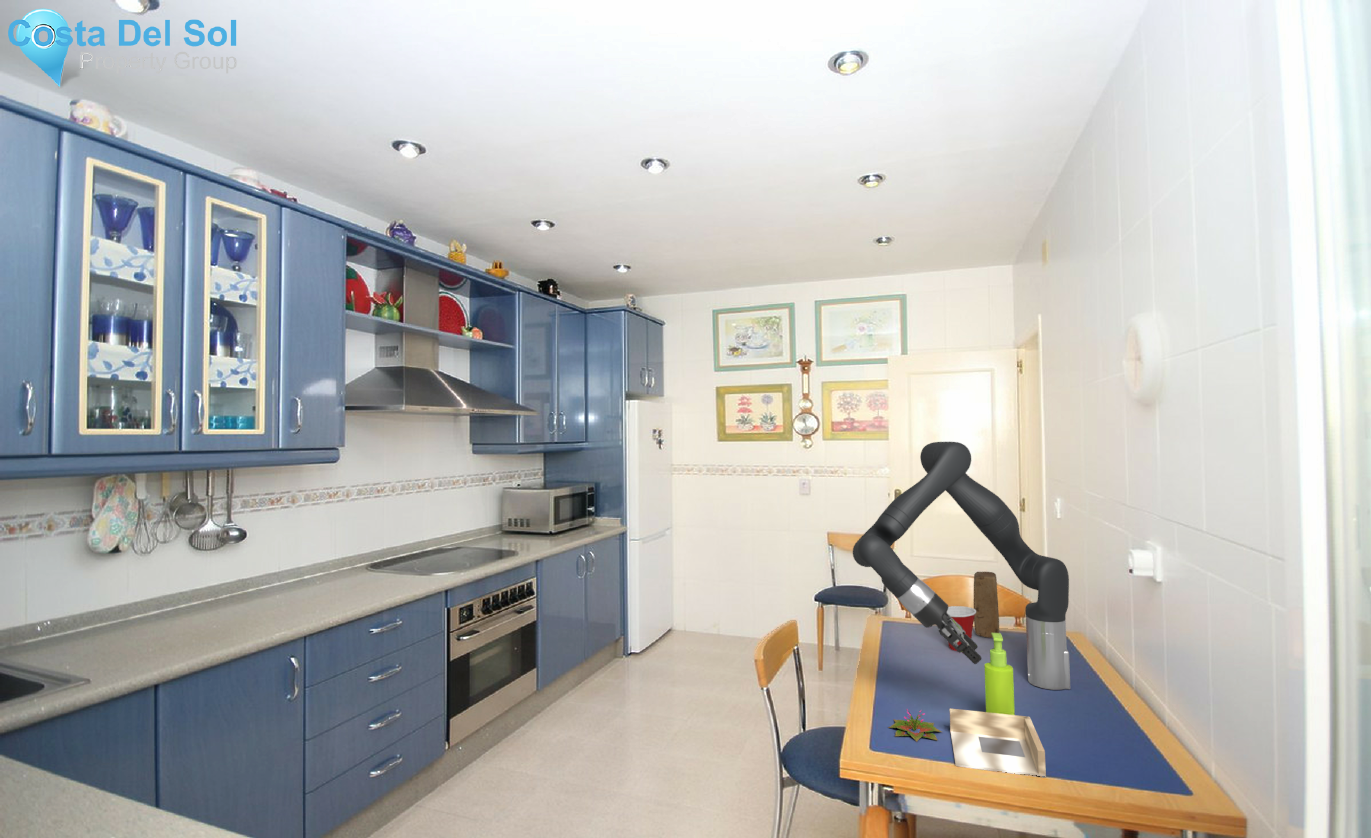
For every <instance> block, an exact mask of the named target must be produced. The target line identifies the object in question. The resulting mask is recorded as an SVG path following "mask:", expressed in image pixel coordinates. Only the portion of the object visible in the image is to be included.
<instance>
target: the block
mask: <svg viewBox="0 0 1371 838" xmlns="http://www.w3.org/2000/svg"><path fill="white" fill-rule="evenodd" d="M973 609H975V610H976V613H975V616H974V622H973V627H974V632H975V633H974V634H975V635H977V636H978V637H982V638H983V637H984V638H990V639H993V637H992V635H991V633H1000V616H999V613H1000V612H999V597H998V582H997V574H996V573H995V572H993V571H976V572H974V574H973Z"/></svg>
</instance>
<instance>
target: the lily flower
mask: <svg viewBox="0 0 1371 838" xmlns="http://www.w3.org/2000/svg"><path fill="white" fill-rule="evenodd" d="M906 710H907V711H906V713H907V714H908V715H907V717H906V716H903V718H904V719H905V720H904V719H893V721H894V723H893V724H891V726H888V727H887V729H888V728H891V729H893V728H894V729H896V728H897V729H898V730H896V731H895V735H894V737H911V738H913V739H914V741H915V742H916V743H918V741H919V740H920V739H921V738H924V739H925V738H927V739H931V740H933V741H934V740H935V741H938V738H937V736H936V734H935V733H934V732H939V733H943V731H941V730H940V729H938V728H937V727H936V726H935V725H934V724H935V722H928V721H925V720H924V719H921V717H922V716H924V715H926V713H921V711H922V710H919V712H918V714H917V715H916V718H914V717H913V716H912V714H911V713H910V711H909V710H908V709H906ZM920 713H921V714H920ZM909 729H910V730H909ZM918 729H920V730H919V731H918V732H919V733H918V732H917V730H918ZM911 730H913V731H911ZM914 731H915V732H914ZM906 732H907V733H906ZM924 732H925V733H924Z"/></svg>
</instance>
